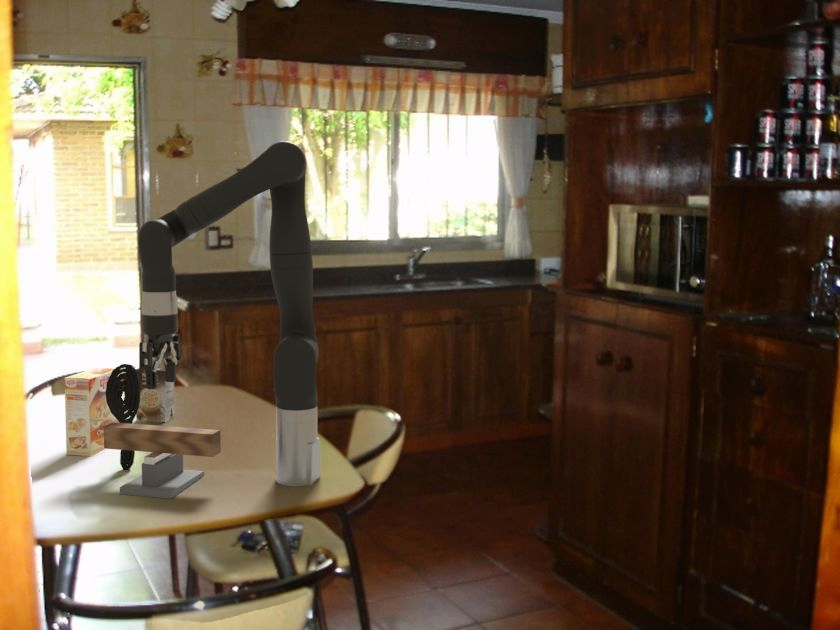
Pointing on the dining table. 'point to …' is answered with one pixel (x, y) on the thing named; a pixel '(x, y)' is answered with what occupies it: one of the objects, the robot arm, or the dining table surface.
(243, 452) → the dining table surface
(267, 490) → the dining table surface
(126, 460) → the hairbrush
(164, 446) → the batten
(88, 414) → the coffeecake box
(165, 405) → the coffee box
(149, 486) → the fulcrum
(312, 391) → the robot arm
